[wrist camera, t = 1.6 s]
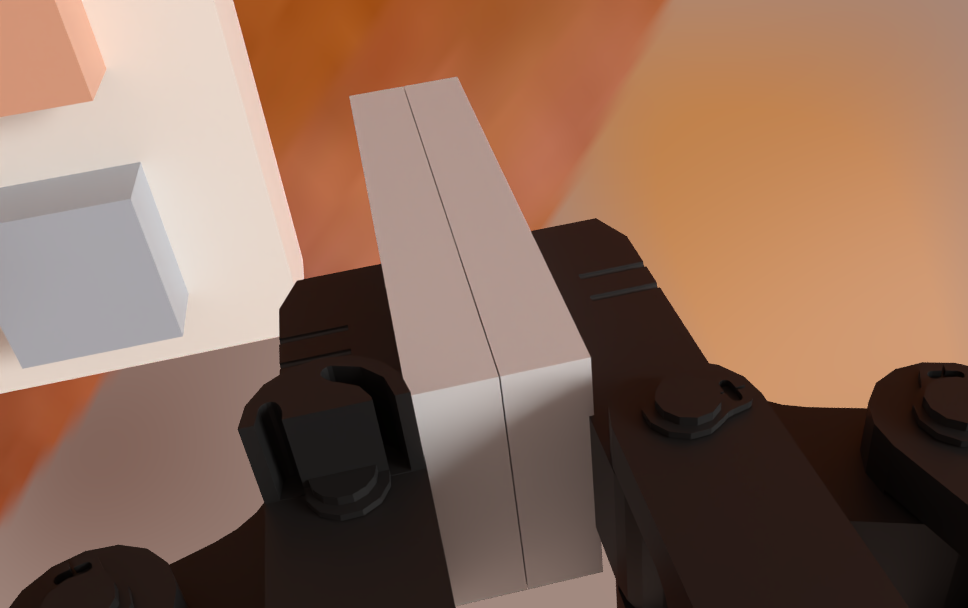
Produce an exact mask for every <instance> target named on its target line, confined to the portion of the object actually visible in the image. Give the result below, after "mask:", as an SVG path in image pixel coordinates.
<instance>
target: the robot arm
mask: <svg viewBox="0 0 968 608" xmlns="http://www.w3.org/2000/svg"><path fill="white" fill-rule="evenodd" d="M404 89H405V91H404ZM349 97H350V102H351V107H352V113H353V118H354V123H355V129H356V134H357V139H358V144H359V150H360V155H361V160H362V165H363V171H364V176H365V181H366V186H367V192H368V197H369V202H370V207H371V213H372V218H373V223H374V228H375V234H376V239H377V244H378V249H379V255H380V260H381V264H378V265H373V266H368V267H363V268H358V269H353V270H348V271H343V272H338V273H333V274H328V275H323V276H318V277H313V278H308V279H303V280H298V281H296V283H295V284H294V286H293V288H292V289H291V291H290V292H289V294H288V296H287V297H286V299H285V301H284V302H283V304H282V305H281V307H280V309H279V339H280V345H279V347H280V348H279V352H280V367H281V369H280V375H279V376H277V377H275V378H274V379H272V380H271V381H269V382H267V383H266V384H264V385H263V386H262V387H261V388H260V390H259V391H258V392H257V393H256V394H255V395H254V396H253V398H252V399H251V400H250V401H249V402H248V404H246V406H245V408H244V411H243V414H242V417H241V420H240V423H239V427H238V431H239V434H240V437H241V440H242V442H243V445H244V448H245V451H246V453H247V456H248V459H249V461H250V464H251V467H252V470H253V472H254V475H255V478H256V481H257V484H258V486H259V489H260V492H261V495H262V497H263V500H264V504H263V505H262V506H261V507H260V509H259V510H258V511H257V512H256V513H255V514H254V515H253V516H252V517H251V518H250V519H248V520H247V521H246V522H245V523H244V524H242V525H241V526H240V527H239V528H238V529H237V530H235V531H233V532H232V533H230V534H228V535H227V536H225V537H223V538H221V539H220V540H218V541H216V542H215V543H213V544H211V545H209V546H207V547H205V548H203V549H201V550H199V551H197V552H195V553H192V554H190V555H188V556H186V557H185V558H182V559H180V560H178V561H176V562H174V563H172V564H170V565H169V564H168V563H167V562H166V561H164V560H163V559H162V558H160V557H159V556H157V555H156V554H154V553H153V552H151V551H150V550H148V549H145V548H138V547H131V546H123V545H115V546H110V547H105V548H100V549H95V550H89V551H85V552H83V553H81V554H79V555H77V556H74V557H72V558H71V559H68V560H66V561H64V562H62V563H60V564H57V565H55V566H53V567H51V568H50V569H49V570H48V571H46V572H45V573H44V574H43V575H42V576H40V577H39V578H38V579H36V580H35V581H34V582H33V583H31V584H30V585H29V586H28V587H26V588H25V589H24V590H22V591H21V593H20V594H19V595H18V597H17V598H16V599H15V601H14V602H13V603H12V605H11V606H10V607H9V608H456V607H455V606H459V605H464V604H467V603H472V602H476V601H480V600H485V599H489V598H493V597H498V596H502V595H506V594H510V593H515V592H519V591H523V590H527V587H528V589H532V588H536V587H540V586H544V585H549V584H553V583H557V582H561V581H566V580H570V579H574V578H578V577H583V576H587V575H591V574H595V573H600V572H603V567H602V549H601V542H602V544H603V547H604V549H605V552H606V555H607V557H608V560H609V562H610V565H611V567H612V570H613V573H614V575H615V578H616V594H617V608H968V366H966V365H962V364H957V363H919V364H915V365H911V366H907V367H903V368H899V369H895V370H894V371H892V372H891V373H889V374H888V375H887V376H885V377H884V378H882V379H881V380H880V381H878V382H877V383H876V385H875V387H874V390H873V392H872V395H871V397H870V400H869V403H868V408H867V409H864V408H819V407H798V406H789V405H781V404H777V403H773V402H769V401H767V400H766V399H765V397H764V396H763V395H762V393H761V392H760V391H759V390H758V389H757V388H755V387H754V386H753V385H752V384H751V383H750V382H749V381H748V380H747V379H746V378H745V377H744V376H741V375H739V374H737V373H735V372H733V371H730V370H728V369H726V368H724V367H722V366H720V365H715V364H709V363H708V361H707V360H706V358H705V357H704V355H703V353H702V352H701V350H700V349H699V347H698V346H697V344H696V343H695V341H694V340H693V338H692V336H691V335H690V333H689V332H688V330H687V329H686V327H685V326H684V324H683V323H682V321H681V319H680V318H679V316H678V315H677V313H676V312H675V311H674V309H673V307H672V306H671V304H670V302H669V301H668V299H667V298H666V296H665V295H664V293H663V292H662V290H661V288H657V283H656V281H655V279H654V278H653V276H652V275H651V273H650V271H649V270H648V268H647V267H644V265H643V261H642V259H641V258H640V256H639V255H638V253H637V251H636V250H635V249H634V247H633V245H632V244H631V242H630V241H629V239H628V238H627V236H625V235H623V234H622V233H620V232H618V231H617V230H615V229H613V228H611V227H610V226H608V225H606V224H605V223H603V222H601V221H600V220H598V219H596V218H595V219H590V220H585V221H580V222H575V223H570V224H565V225H560V226H555V227H550V228H545V229H540V230H534V231H530V229H529V226H528V224H527V222H526V220H525V218H524V216H523V214H522V212H521V210H520V208H519V205H518V203H517V201H516V199H515V197H514V195H513V193H512V191H511V189H510V187H509V184H508V182H507V180H506V178H505V176H504V174H503V172H502V170H501V168H500V166H499V163H498V161H497V159H496V157H495V155H494V153H493V151H492V149H491V147H490V145H489V143H488V140H487V138H486V136H485V134H484V132H483V130H482V128H481V126H480V124H479V122H478V119H477V117H476V115H475V113H474V111H473V109H472V107H471V105H470V103H469V101H468V98H467V96H466V94H465V92H464V90H463V88H462V86H461V84H460V82H459V80H458V77H453V78H448V79H442V80H437V81H431V82H425V83H420V84H414V85H409V86H404V88H403V87H398V88H392V89H387V90H381V91H375V92H370V93H364V94H359V95H353V96H349ZM526 583H527V585H526Z"/></svg>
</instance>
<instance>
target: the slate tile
mask: <svg viewBox="0 0 968 608" xmlns="http://www.w3.org/2000/svg"><path fill="white" fill-rule="evenodd" d="M188 295H189V293H188V291H187V288H186V285H185V282H184V280H183V277H182V274H181V271H180V269H179V266H178V263H177V260H176V258H175V255H174V252H173V249H172V247H171V244H170V241H169V238H168V236H167V233H166V230H165V228H164V225H163V222H162V219H161V217H160V214H159V211H158V208H157V206H156V203H155V200H154V197H153V195H152V192H151V189H150V186H149V184H148V181H147V178H146V175H145V173H144V170H143V167H142V164H141V162H137V163H132V164H126V165H121V166H115V167H110V168H104V169H99V170H94V171H88V172H83V173H77V174H72V175H66V176H61V177H55V178H50V179H45V180H39V181H34V182H28V183H23V184H17V185H12V186H6V187H1V188H0V327H1V329H2V330H3V332H4V334H5V336H6V338H7V340H8V342H9V344H10V346H11V348H12V350H13V351H14V353H15V355H16V357H17V359H18V361H19V363H20V365H21V367H22V369H24V368H29V367H34V366H39V365H44V364H49V363H54V362H59V361H63V360H68V359H73V358H78V357H83V356H88V355H93V354H98V353H103V352H108V351H113V350H118V349H123V348H128V347H133V346H138V345H143V344H148V343H153V342H157V341H162V340H167V339H172V338H177V337H182V336H183V333H184V325H185V318H186V310H187V303H188Z"/></svg>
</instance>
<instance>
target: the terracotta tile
mask: <svg viewBox="0 0 968 608" xmlns="http://www.w3.org/2000/svg"><path fill="white" fill-rule="evenodd" d="M105 72H106V66H105V63H104V60H103V58H102V55H101V52H100V49H99V47H98V44H97V41H96V38H95V36H94V33H93V30H92V27H91V25H90V22H89V19H88V16H87V14H86V11H85V8H84V5H83V3H82V0H0V117H4V116H10V115H16V114H21V113H27V112H33V111H38V110H44V109H50V108H55V107H61V106H67V105H72V104H78V103H84V102H89V101H93V100H94V98H95V95H96V93H97V90H98V88H99V86H100V83H101V81H102V79H103V76H104V74H105Z"/></svg>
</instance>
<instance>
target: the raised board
mask: <svg viewBox="0 0 968 608" xmlns="http://www.w3.org/2000/svg"><path fill="white" fill-rule="evenodd" d="M82 3H83V5H84V8H85V11H86V14H87V16H88V19H89V22H90V25H91V27H92V30H93V33H94V36H95V38H96V41H97V44H98V47H99V49H100V52H101V55H102V58H103V60H104V63H105V66H106V72H105V74H104V76H103V79H102V81H101V83H100V86H99V88H98V90H97V93H96V95H95V98H94V100H93V101H89V102H84V103H78V104H72V105H67V106H61V107H55V108H50V109H44V110H38V111H33V112H27V113H21V114H16V115H10V116H4V117H0V188H1V187H6V186H12V185H17V184H23V183H28V182H34V181H39V180H45V179H50V178H55V177H61V176H66V175H72V174H77V173H83V172H88V171H94V170H99V169H104V168H110V167H115V166H121V165H126V164H132V163H137V162H141V164H142V167H143V170H144V173H145V175H146V178H147V181H148V184H149V186H150V189H151V192H152V195H153V197H154V200H155V203H156V206H157V208H158V211H159V214H160V217H161V219H162V222H163V225H164V228H165V230H166V233H167V236H168V238H169V241H170V244H171V247H172V249H173V252H174V255H175V258H176V260H177V263H178V266H179V269H180V271H181V274H182V277H183V280H184V282H185V285H186V288H187V291H188V293H189V295H188V303H187V310H186V318H185V325H184V333H183V336H182V337H177V338H172V339H167V340H162V341H157V342H153V343H148V344H143V345H138V346H133V347H128V348H123V349H118V350H113V351H108V352H103V353H98V354H93V355H88V356H83V357H78V358H73V359H68V360H63V361H59V362H54V363H49V364H44V365H39V366H34V367H29V368H24V369H22V367H21V365H20V363H19V361H18V359H17V357H16V355H15V353H14V351H13V350H12V348H11V346H10V344H9V342H8V340H7V338H6V336H5V334H4V332H3V330H2V329H1V327H0V394H1V393H6V392H11V391H16V390H21V389H26V388H30V387H35V386H40V385H45V384H50V383H55V382H60V381H65V380H70V379H74V378H79V377H84V376H89V375H94V374H99V373H104V372H109V371H114V370H119V369H123V368H128V367H133V366H138V365H143V364H148V363H153V362H158V361H163V360H168V359H172V358H177V357H182V356H187V355H192V354H197V353H202V352H207V351H211V350H216V349H221V348H226V347H231V346H236V345H240V344H246V343H251V342H255V341H261V340H265V339H270V338H275V337H279V309H280V307H281V305H282V304H283V302H284V301H285V299H286V297H287V296H288V294H289V292H290V291H291V289H292V288H293V286H294V284H295V283H296V281H298V280H303V279H304V271H303V259H302V255H301V251H300V248H299V244H298V240H297V236H296V233H295V229H294V225H293V222H292V218H291V214H290V210H289V207H288V203H287V199H286V196H285V192H284V188H283V184H282V181H281V177H280V173H279V170H278V166H277V162H276V158H275V155H274V151H273V147H272V143H271V140H270V136H269V132H268V129H267V125H266V121H265V117H264V114H263V110H262V106H261V103H260V99H259V95H258V91H257V88H256V84H255V80H254V77H253V73H252V69H251V65H250V62H249V58H248V54H247V51H246V47H245V43H244V39H243V36H242V32H241V28H240V25H239V21H238V17H237V13H236V10H235V6H234V2H233V0H82Z"/></svg>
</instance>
